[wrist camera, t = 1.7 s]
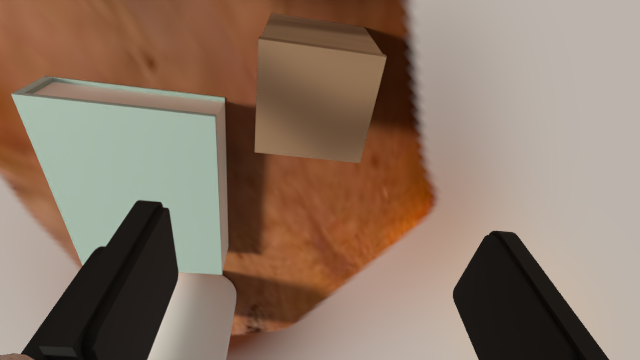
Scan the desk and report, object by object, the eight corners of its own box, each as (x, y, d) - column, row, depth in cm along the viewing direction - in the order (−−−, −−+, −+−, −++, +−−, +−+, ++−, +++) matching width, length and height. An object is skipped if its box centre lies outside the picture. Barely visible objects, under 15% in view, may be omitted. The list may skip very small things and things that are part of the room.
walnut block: (270, 11, 21) (258, 38, 15) (364, 26, 22) (386, 57, 16) (266, 102, 24) (254, 152, 19) (347, 112, 25) (359, 162, 19)
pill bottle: (251, 299, 38) (227, 465, 26) (192, 316, 40) (144, 481, 28) (213, 257, 34) (162, 434, 22) (148, 279, 35) (68, 455, 23)
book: (102, 237, 32) (83, 266, 29) (47, 74, 23) (11, 93, 20) (228, 246, 33) (222, 274, 31) (225, 95, 24) (215, 116, 21)
